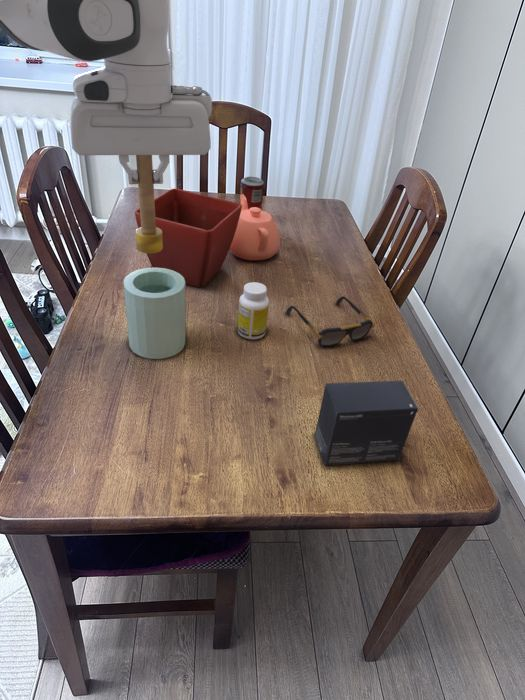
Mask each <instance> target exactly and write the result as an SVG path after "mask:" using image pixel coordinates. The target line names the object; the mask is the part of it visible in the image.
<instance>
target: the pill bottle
mask: <svg viewBox="0 0 525 700" xmlns="http://www.w3.org/2000/svg"><path fill="white" fill-rule="evenodd" d="M267 293H268V288H267V286H266V285H265V284H263V283H261V282H256V281H251V282H248V283H245V284H244V286H243V293H242V294H241V295H240V297H239V300H238V314H237V315H238V316H237V333H238V335H239V336H241V337H242V338H244V339H247V340H259V339H261V338H263V337H264V336H265V335H266V332H267V325H268V317H269V316H268V315H269V307H270V300H269V297H268V295H267Z"/></svg>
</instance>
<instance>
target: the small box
mask: <svg viewBox="0 0 525 700" xmlns="http://www.w3.org/2000/svg"><path fill="white" fill-rule="evenodd" d="M323 390H324V391H323V395H322V399H321V404H320V408H319V412H318V417H317V422H316V428H315V432H314V439H315V442H316V445H317V448H318V451H319V455H320V457H321V460H322V463H323V465H324V466H327V467H328V466H339V465H340V466H341V465H352V464H353V465H355V464H366V463H381V462H392V461H393V462H394V461H400V460H401V456H402V453H403V450H404V448H405V445H406V443H407V439H408V436H409V434H410V431H411V428H412V426H413V424H414V420H415V418H416V415H417V413H418V411H419V407H418V404H417V403H416V401H415V399H414V398H413V396H412V395H411V392H410V390H409V389H408V387H407V385H406V383H404V381H403V380H385V381H384V380H382V381H381V380H379V381H378V380H377V381H356V382H355V381H353V382H330V383H329V382H327V383H325V385H324V389H323Z"/></svg>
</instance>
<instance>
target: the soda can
mask: <svg viewBox="0 0 525 700" xmlns="http://www.w3.org/2000/svg"><path fill="white" fill-rule="evenodd" d="M264 187H265V182H264V181H263V180H262V178H260V177H259V176H258V177H257V176H246V177H244V178H242V179H241V181H240V188H239V189H240V190H239V194H240V195H241V194H243V195H244V196H245V197H246V199H247V204H248V210H249V209H250V208H252V207H257V208H260V209H261V210H262V209H263V201H264V199H263V198H264ZM240 195H239V196H240ZM239 204H241V198H240V197H239ZM262 211H263V210H262Z"/></svg>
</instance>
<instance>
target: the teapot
mask: <svg viewBox="0 0 525 700" xmlns="http://www.w3.org/2000/svg"><path fill="white" fill-rule="evenodd" d="M240 198H241V205H242V209H241V213H240V217H239V221H238V225H237V228H236V232H235V235H234V238H233V241H232V243H231V246H230V249H229V252H230V253H232V254H233V255H234V256H235V257H237V258H240V259H242V260H246V261H264V260H267V259H271V258H272V257H273V256H275V255H276V254H277V253H278V252H279V250H280V248H281V237H280V231H279V228H278V227H277V224H276V222H275V220H274V218H273V216H272V215H271V214H270V213H269V212H266V211H265V210H261V209H260V208H257V207H252V208H250V209H249V210H248V204H247V199H246V197H245V196H244V195H243V194H241V195H239V199H240Z"/></svg>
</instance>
